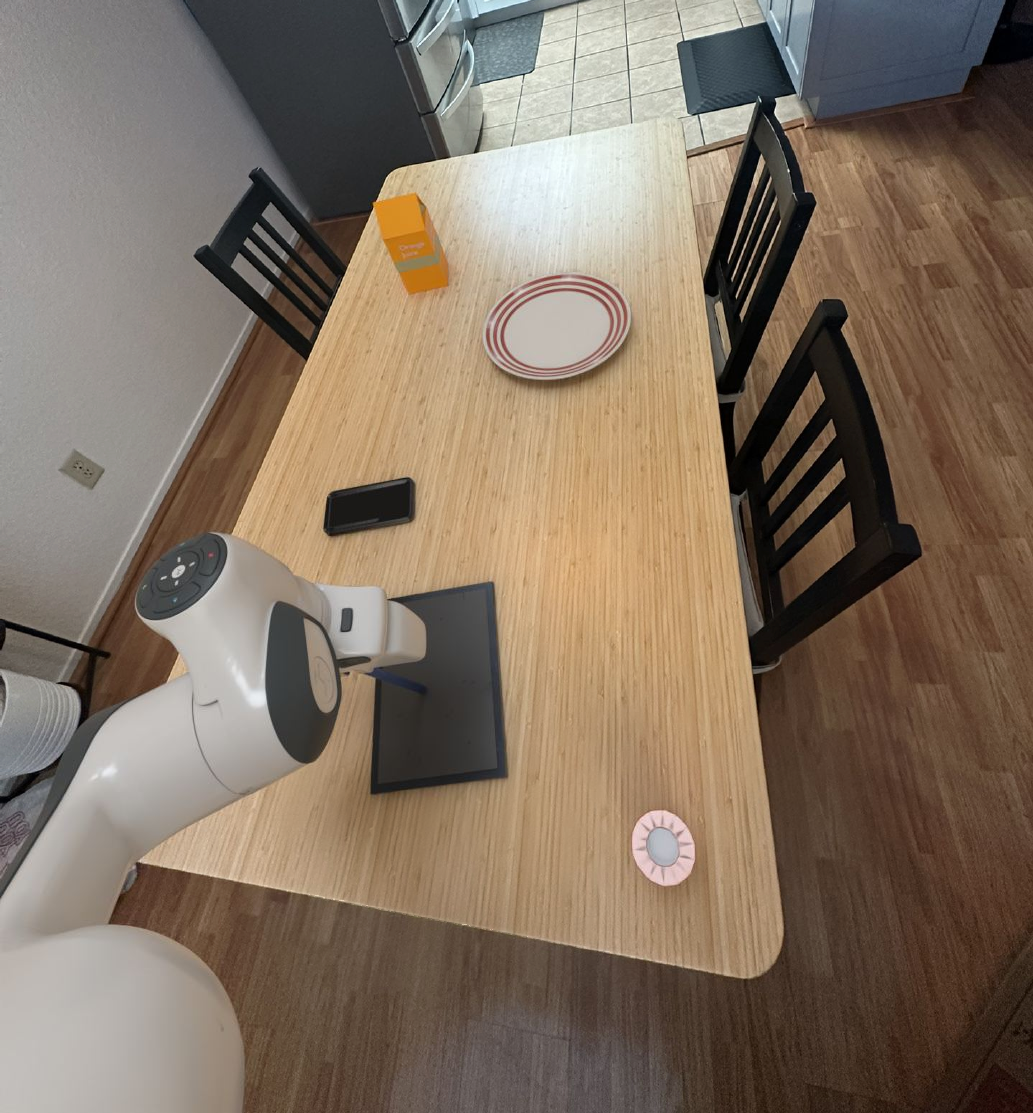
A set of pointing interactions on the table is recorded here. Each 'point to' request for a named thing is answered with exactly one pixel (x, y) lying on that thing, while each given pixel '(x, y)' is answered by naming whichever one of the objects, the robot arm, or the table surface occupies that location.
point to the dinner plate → (556, 326)
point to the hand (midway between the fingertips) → (356, 667)
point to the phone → (370, 506)
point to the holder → (663, 847)
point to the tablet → (443, 698)
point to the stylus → (396, 680)
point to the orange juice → (412, 242)
